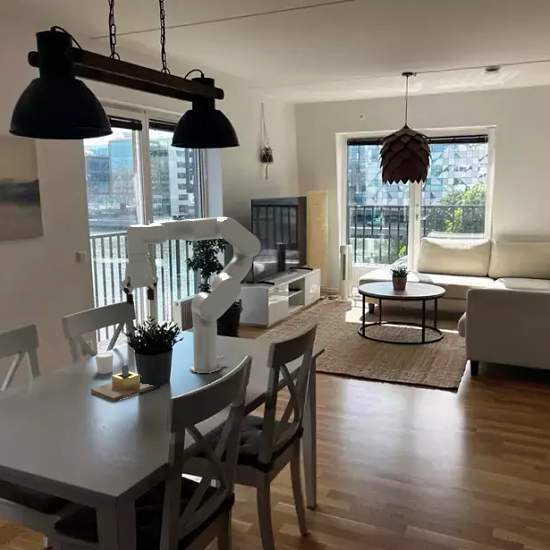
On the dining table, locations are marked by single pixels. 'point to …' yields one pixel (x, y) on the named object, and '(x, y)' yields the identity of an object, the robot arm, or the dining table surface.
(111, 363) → the white tapered cup
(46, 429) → the dining table surface
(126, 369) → the post
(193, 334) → the robot arm
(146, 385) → the keeper board
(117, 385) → the brass link
